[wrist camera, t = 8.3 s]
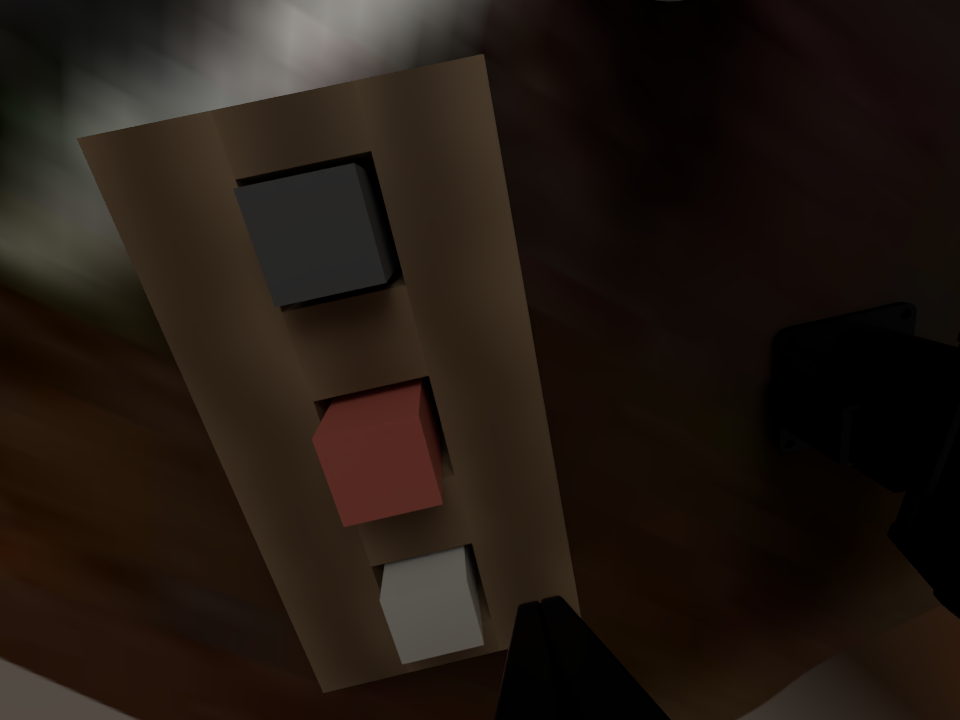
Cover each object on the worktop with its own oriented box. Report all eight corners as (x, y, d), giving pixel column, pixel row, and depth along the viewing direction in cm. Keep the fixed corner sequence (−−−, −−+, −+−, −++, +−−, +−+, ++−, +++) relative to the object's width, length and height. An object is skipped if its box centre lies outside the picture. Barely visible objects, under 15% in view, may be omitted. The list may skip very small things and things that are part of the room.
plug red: (422, 364, 19) (418, 414, 14) (441, 435, 20) (442, 504, 16) (342, 382, 19) (311, 439, 14) (365, 452, 20) (344, 527, 15)
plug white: (459, 501, 22) (466, 580, 18) (474, 556, 23) (484, 644, 19) (391, 517, 22) (379, 600, 18) (408, 572, 23) (402, 664, 19)
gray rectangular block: (376, 175, 18) (354, 162, 13) (398, 264, 19) (386, 282, 14) (287, 194, 17) (233, 188, 13) (316, 282, 19) (275, 307, 14)
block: (473, 87, 17) (483, 53, 14) (560, 566, 25) (583, 631, 21) (156, 154, 17) (76, 138, 13) (340, 618, 24) (323, 693, 21)
